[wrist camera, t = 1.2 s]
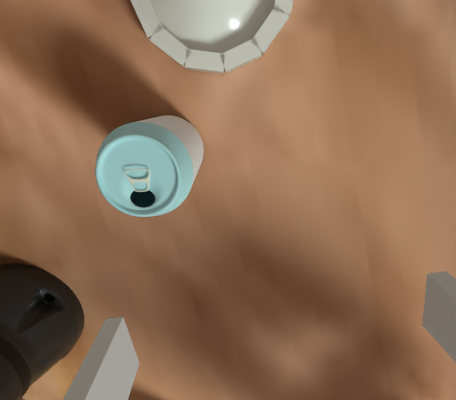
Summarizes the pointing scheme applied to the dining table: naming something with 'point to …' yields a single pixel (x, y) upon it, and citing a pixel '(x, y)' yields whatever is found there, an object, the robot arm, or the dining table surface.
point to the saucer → (213, 30)
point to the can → (149, 165)
